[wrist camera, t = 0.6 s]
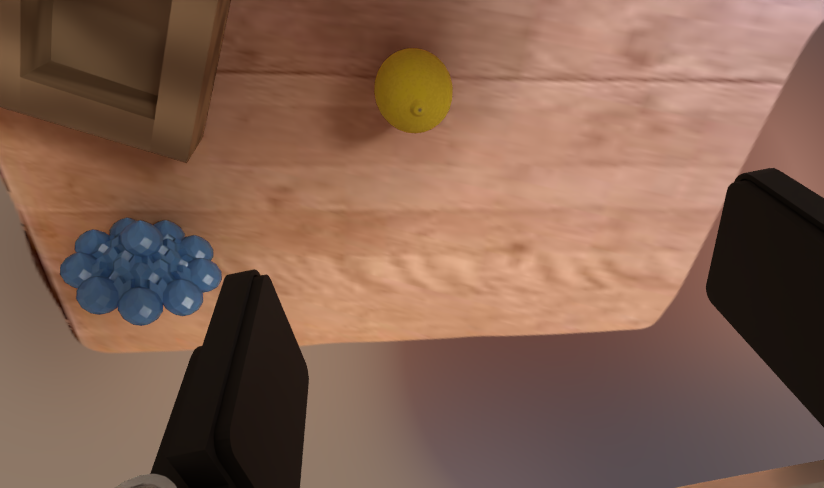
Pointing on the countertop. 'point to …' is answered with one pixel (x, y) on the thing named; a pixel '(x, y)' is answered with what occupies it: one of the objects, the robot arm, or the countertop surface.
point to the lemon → (413, 90)
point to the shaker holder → (114, 67)
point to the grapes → (141, 270)
